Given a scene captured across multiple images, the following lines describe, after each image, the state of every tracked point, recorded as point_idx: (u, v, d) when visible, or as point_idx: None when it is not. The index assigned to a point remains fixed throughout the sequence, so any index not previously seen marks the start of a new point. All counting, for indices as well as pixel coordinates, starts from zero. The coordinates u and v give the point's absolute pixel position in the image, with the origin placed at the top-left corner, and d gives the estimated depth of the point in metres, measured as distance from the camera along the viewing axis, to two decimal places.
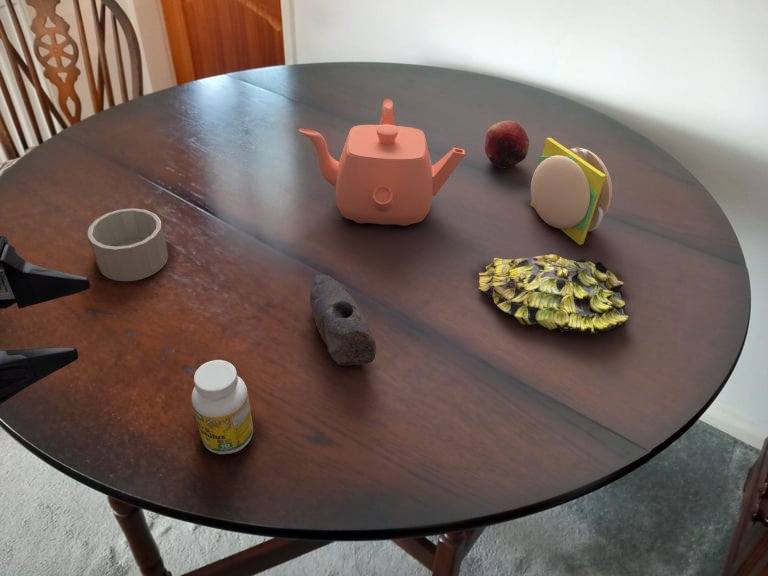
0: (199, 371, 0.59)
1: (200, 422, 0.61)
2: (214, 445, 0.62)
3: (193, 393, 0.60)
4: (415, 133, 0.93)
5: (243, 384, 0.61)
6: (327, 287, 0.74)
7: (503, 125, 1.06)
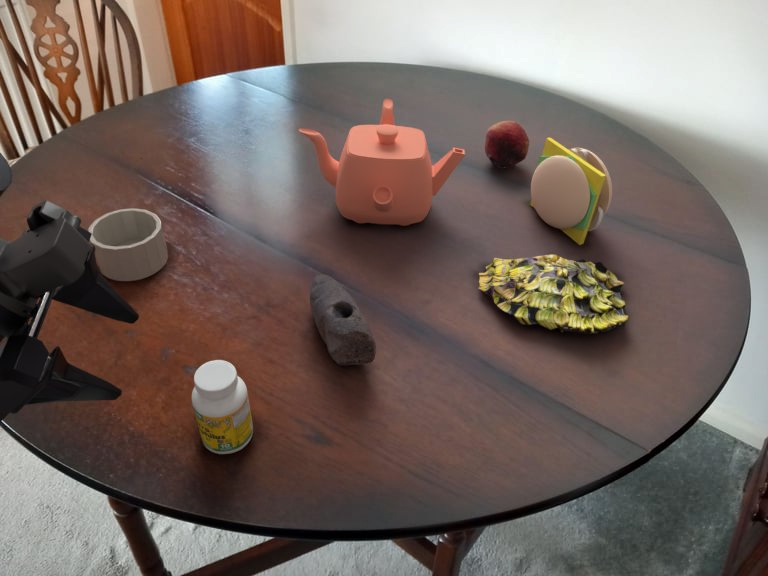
0: (199, 371, 0.59)
1: (200, 422, 0.61)
2: (214, 445, 0.62)
3: (193, 393, 0.60)
4: (415, 133, 0.93)
5: (243, 384, 0.61)
6: (327, 287, 0.74)
7: (503, 125, 1.06)
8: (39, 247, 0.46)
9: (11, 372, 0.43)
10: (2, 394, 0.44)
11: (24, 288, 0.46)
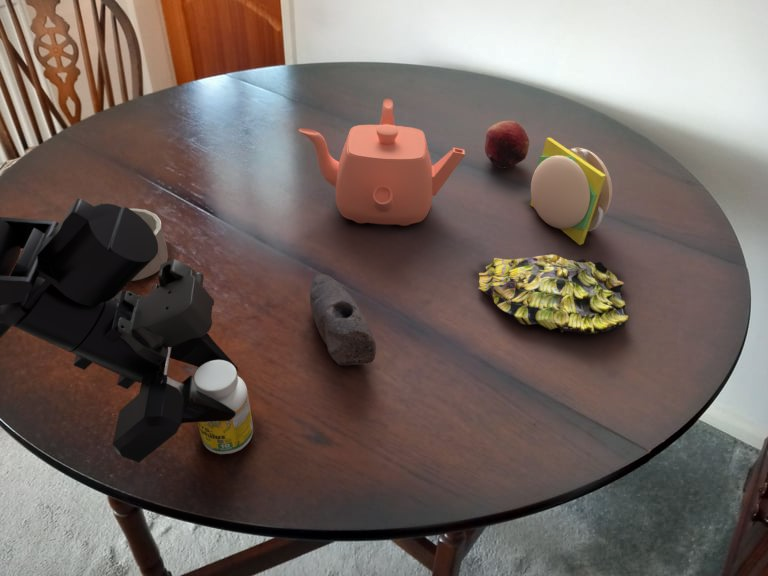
0: (199, 371, 0.59)
1: (200, 422, 0.61)
2: (214, 445, 0.62)
3: None
4: (415, 133, 0.93)
5: (243, 384, 0.61)
6: (327, 287, 0.74)
7: (503, 125, 1.06)
8: (175, 304, 0.51)
9: (158, 418, 0.48)
10: (148, 437, 0.49)
11: (161, 340, 0.52)
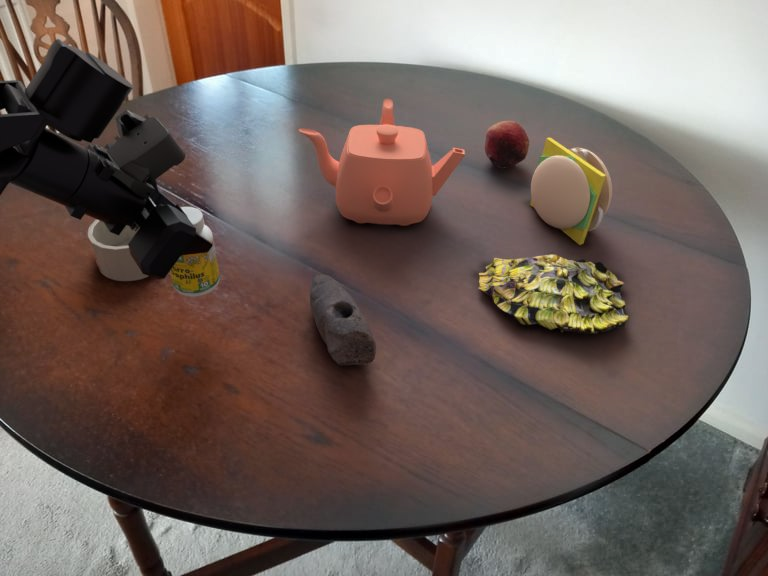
0: None
1: (179, 265, 0.68)
2: (194, 287, 0.70)
3: None
4: (415, 133, 0.93)
5: (205, 225, 0.70)
6: (327, 287, 0.74)
7: (503, 125, 1.06)
8: (152, 137, 0.59)
9: (179, 224, 0.57)
10: (172, 245, 0.57)
11: (148, 172, 0.59)
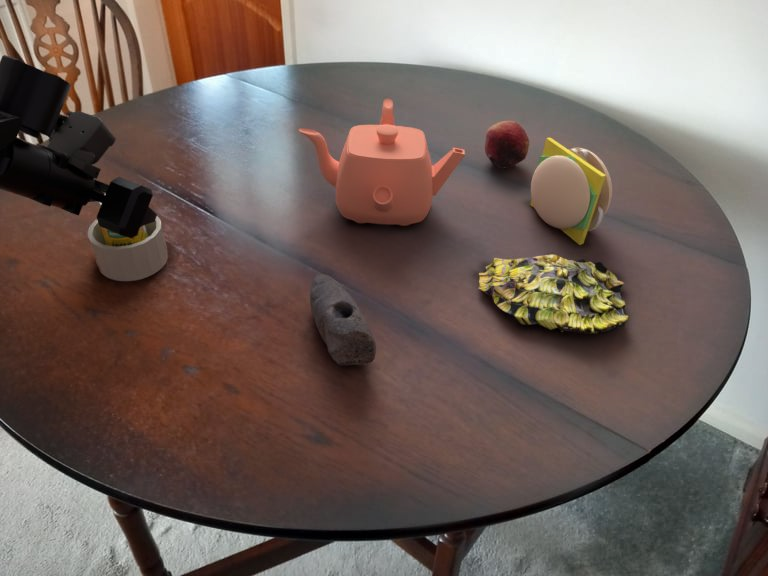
0: None
1: (122, 240, 0.81)
2: None
3: None
4: (415, 133, 0.93)
5: None
6: (327, 287, 0.74)
7: (503, 125, 1.06)
8: (87, 126, 0.71)
9: (140, 187, 0.70)
10: (139, 205, 0.71)
11: (93, 155, 0.71)
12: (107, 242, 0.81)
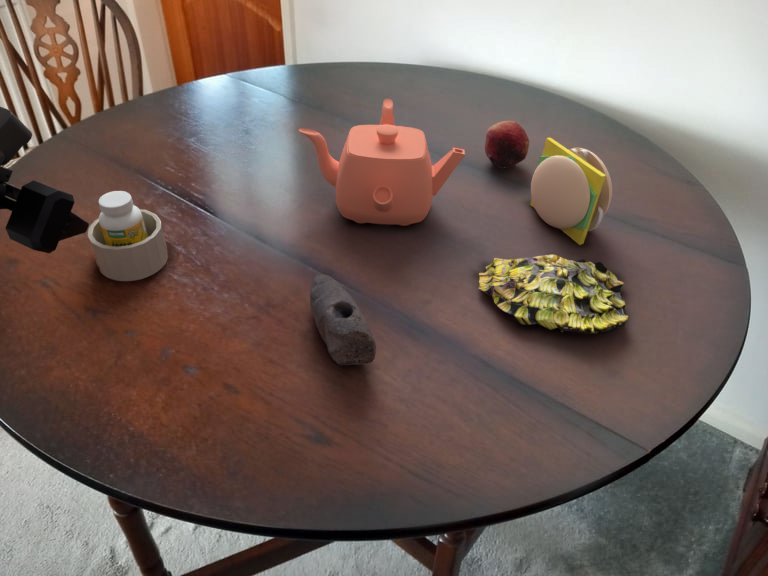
0: (102, 203, 0.79)
1: (122, 240, 0.81)
2: None
3: (105, 223, 0.79)
4: (415, 133, 0.93)
5: None
6: (327, 287, 0.74)
7: (503, 125, 1.06)
8: None
9: (58, 192, 0.59)
10: (57, 214, 0.59)
11: (2, 154, 0.59)
12: (107, 242, 0.81)
